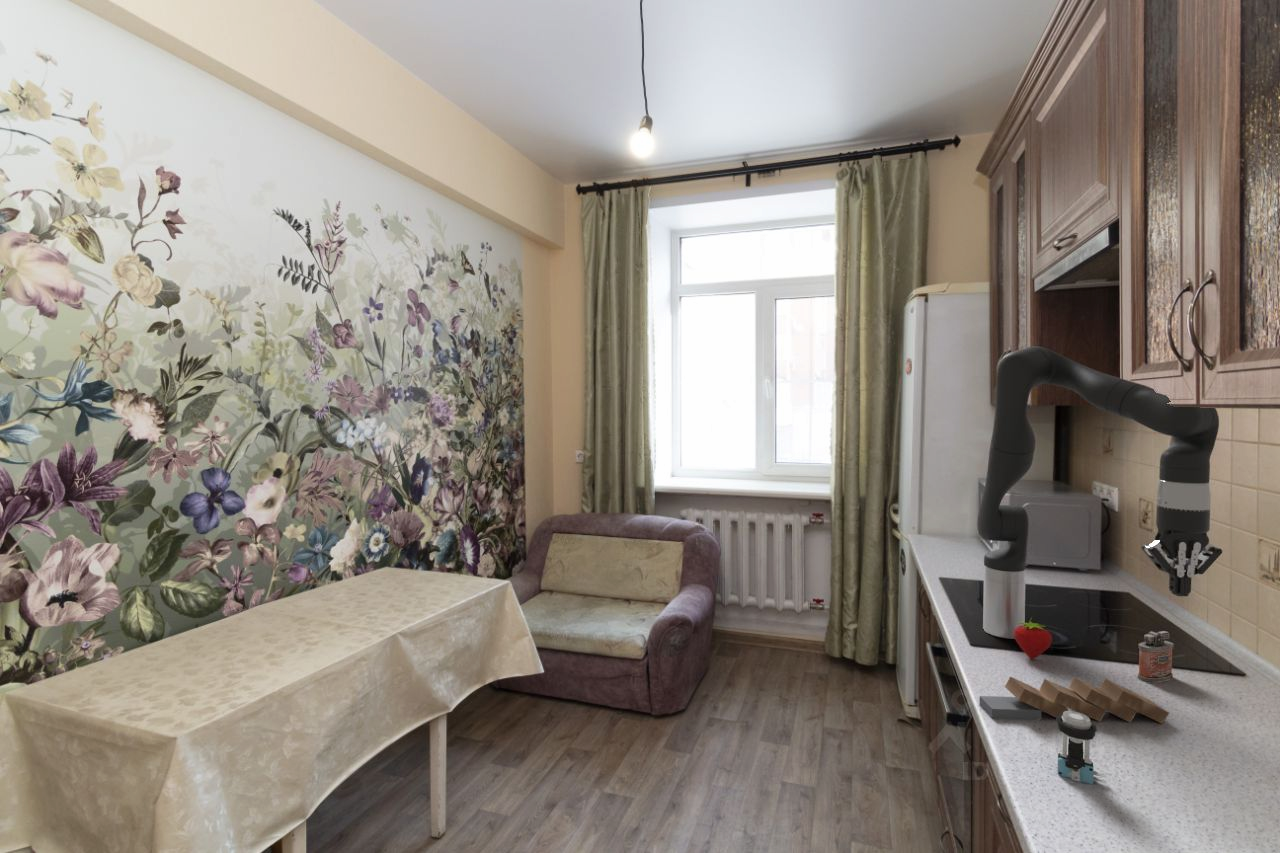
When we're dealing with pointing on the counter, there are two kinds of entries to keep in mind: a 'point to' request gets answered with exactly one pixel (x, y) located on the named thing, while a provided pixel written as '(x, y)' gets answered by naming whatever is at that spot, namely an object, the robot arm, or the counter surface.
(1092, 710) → the walnut tile
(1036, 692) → the walnut tile
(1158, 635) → the lighter
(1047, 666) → the counter surface
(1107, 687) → the walnut tile
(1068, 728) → the push button
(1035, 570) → the counter surface
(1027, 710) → the charcoal tile
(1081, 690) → the walnut tile
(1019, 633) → the strawberry
